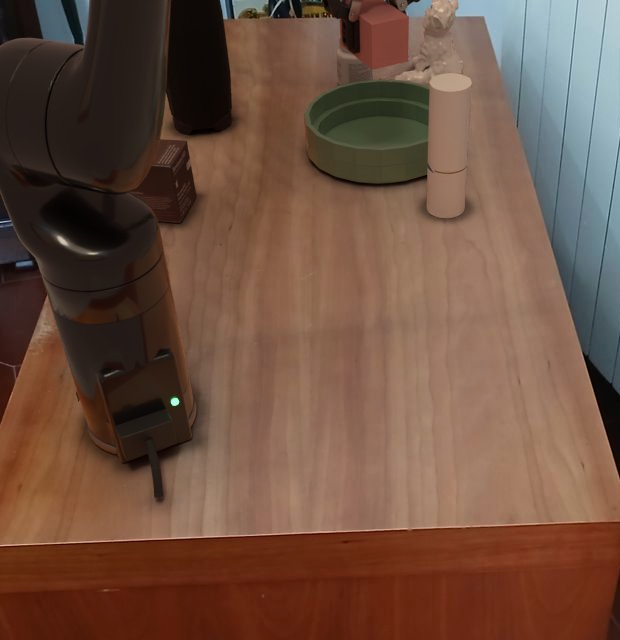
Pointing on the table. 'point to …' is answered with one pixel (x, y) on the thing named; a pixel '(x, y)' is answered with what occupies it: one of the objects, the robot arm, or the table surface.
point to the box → (169, 182)
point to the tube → (448, 144)
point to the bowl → (370, 131)
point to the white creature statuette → (436, 45)
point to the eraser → (381, 34)
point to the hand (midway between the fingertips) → (373, 45)
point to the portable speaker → (198, 66)
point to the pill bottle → (351, 68)
